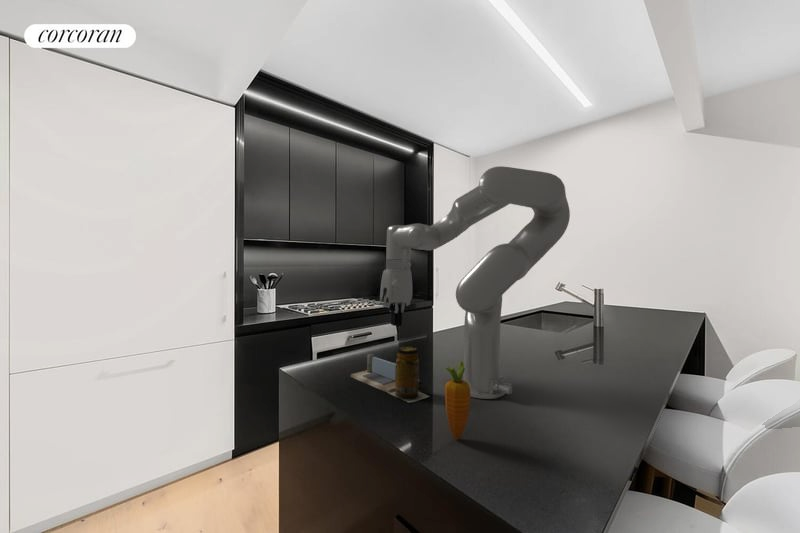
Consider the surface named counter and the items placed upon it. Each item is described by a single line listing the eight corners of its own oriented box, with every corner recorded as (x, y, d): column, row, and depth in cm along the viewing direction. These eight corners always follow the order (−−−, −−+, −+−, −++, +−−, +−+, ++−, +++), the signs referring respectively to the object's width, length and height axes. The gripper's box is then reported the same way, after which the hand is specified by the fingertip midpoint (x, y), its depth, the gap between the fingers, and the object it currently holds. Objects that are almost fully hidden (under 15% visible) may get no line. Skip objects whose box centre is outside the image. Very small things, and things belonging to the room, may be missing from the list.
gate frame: (419, 382, 97) (419, 361, 97) (388, 393, 88) (388, 370, 88) (380, 368, 109) (381, 350, 109) (350, 376, 101) (350, 357, 101)
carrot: (452, 448, 62) (454, 367, 62) (439, 435, 66) (440, 360, 66) (475, 443, 64) (476, 364, 64) (460, 431, 68) (461, 358, 68)
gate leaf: (371, 371, 102) (372, 357, 102) (374, 371, 103) (374, 356, 103) (395, 380, 95) (395, 365, 95) (397, 379, 95) (397, 364, 95)
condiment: (408, 387, 93) (409, 344, 93) (429, 397, 86) (430, 350, 86) (387, 393, 88) (388, 348, 88) (408, 404, 82) (409, 355, 82)
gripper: (406, 265, 111) (404, 321, 111) (371, 265, 100) (369, 326, 100) (423, 266, 105) (421, 324, 105) (388, 265, 95) (386, 330, 95)
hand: (396, 325), depth 103 cm, fingers closed
